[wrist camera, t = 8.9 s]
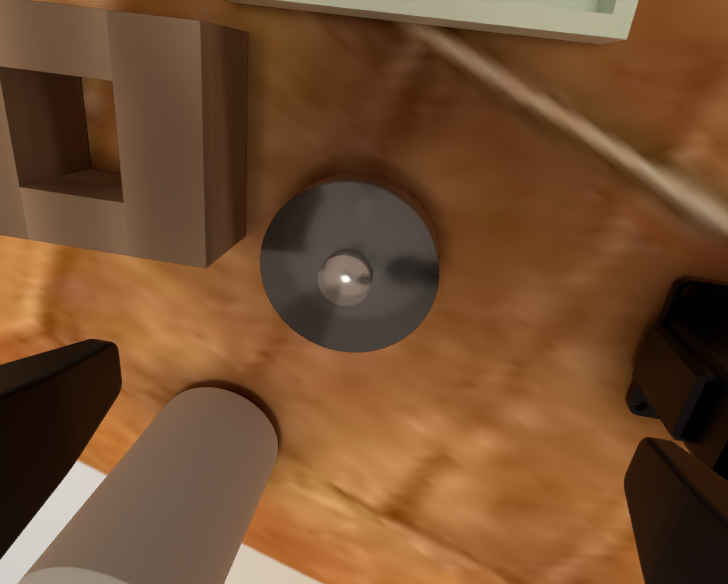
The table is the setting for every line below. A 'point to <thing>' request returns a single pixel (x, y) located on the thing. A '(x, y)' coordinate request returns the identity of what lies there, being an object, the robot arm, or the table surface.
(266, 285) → the dark grey knobbed lid
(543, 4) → the tray
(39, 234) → the block
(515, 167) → the table surface
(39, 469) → the robot arm
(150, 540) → the beverage can
